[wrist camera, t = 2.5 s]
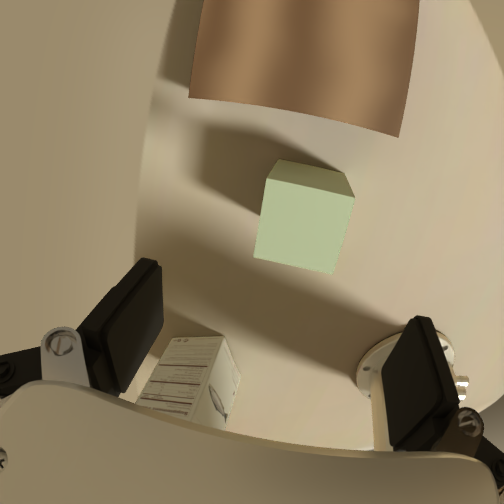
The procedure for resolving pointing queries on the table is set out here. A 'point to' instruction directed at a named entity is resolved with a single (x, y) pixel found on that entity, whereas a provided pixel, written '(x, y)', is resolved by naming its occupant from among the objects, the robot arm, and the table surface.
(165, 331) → the table surface
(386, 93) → the walnut riser block
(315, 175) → the sage block
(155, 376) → the supplement box
